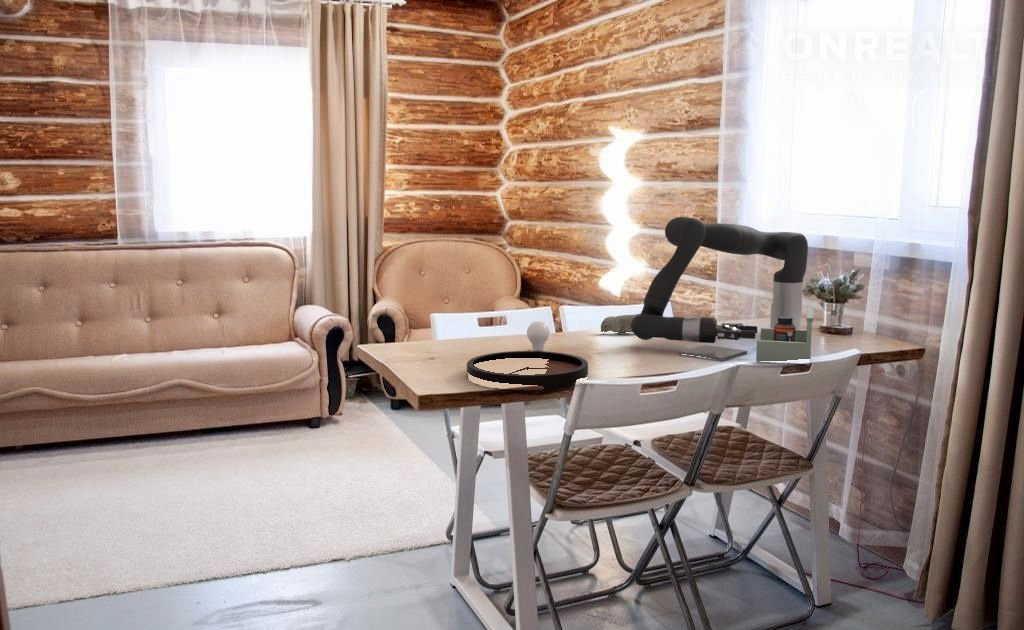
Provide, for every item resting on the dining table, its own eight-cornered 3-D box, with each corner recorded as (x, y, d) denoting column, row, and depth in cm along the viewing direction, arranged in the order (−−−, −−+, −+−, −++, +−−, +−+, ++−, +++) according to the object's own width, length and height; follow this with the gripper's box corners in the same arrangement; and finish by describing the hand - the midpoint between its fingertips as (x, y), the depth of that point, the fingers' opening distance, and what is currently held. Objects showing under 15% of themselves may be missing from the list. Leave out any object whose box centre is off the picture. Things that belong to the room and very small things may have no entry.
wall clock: (550, 346, 243) (611, 367, 215) (550, 360, 243) (611, 383, 216) (448, 357, 229) (499, 381, 201) (448, 372, 229) (499, 397, 202)
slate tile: (679, 354, 249) (679, 351, 249) (704, 347, 259) (704, 344, 259) (723, 361, 239) (723, 357, 239) (747, 353, 249) (747, 350, 249)
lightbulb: (544, 356, 247) (544, 319, 245) (552, 361, 241) (552, 322, 239) (523, 358, 245) (523, 320, 243) (532, 362, 239) (531, 324, 237)
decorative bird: (600, 333, 286) (600, 311, 285) (648, 333, 286) (648, 311, 285) (601, 336, 281) (601, 313, 280) (650, 336, 281) (651, 313, 279)
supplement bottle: (795, 358, 243) (797, 319, 241) (773, 357, 244) (775, 318, 242) (793, 354, 249) (794, 315, 247) (771, 353, 250) (773, 315, 248)
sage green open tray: (756, 362, 238) (757, 315, 236) (760, 347, 259) (762, 304, 257) (810, 365, 234) (813, 318, 232) (810, 350, 254) (812, 306, 252)
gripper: (696, 321, 246) (755, 323, 241) (702, 313, 259) (758, 315, 254) (696, 346, 247) (754, 349, 242) (702, 338, 261) (757, 340, 255)
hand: (756, 332), depth 248 cm, fingers open, 8 cm apart
